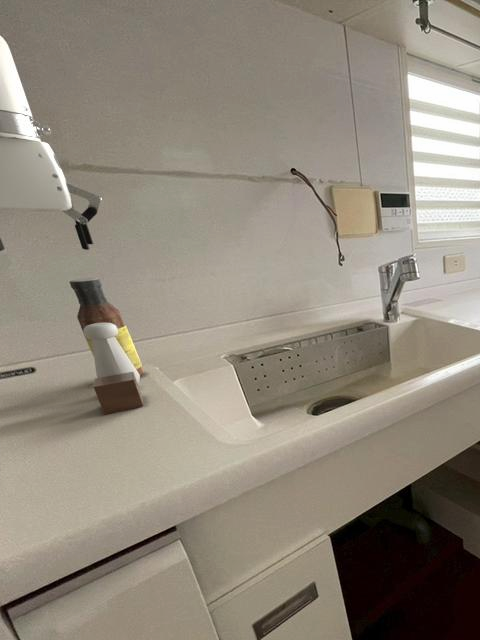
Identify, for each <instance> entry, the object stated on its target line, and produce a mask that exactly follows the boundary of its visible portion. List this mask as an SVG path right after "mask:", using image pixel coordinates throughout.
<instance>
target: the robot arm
mask: <svg viewBox="0 0 480 640" xmlns="http://www.w3.org/2000/svg"><path fill="white" fill-rule="evenodd" d="M46 135H47V136H52V135H53V134H52V131H51V128H50V125H49V124H43V123H41V122H38V121H37V120H35V119H34V118H33V113H32V111H31V108H30V105H29V102H28V99H27V96H26V93H25V89H24V87H23V84H22V82H21V78H20V75H19V73H18V69H17V66H16V63H15V61H14V58H13V55H12V52H11V50H10V46H9V45H8V43H7V41H6V40H5V39H4V37H2V36H1V35H0V211H21V212H22V211H23V212H24V211H26V212H27V211H28V212H63V213H64V214H66V215H67V216H68V217H70V218H71V219H72V220H74V222H75V224H74V228H75V231H76V234H77V237H78V240H79V244H80V246H81V249H82V250H85V251H88V250H90V246H89V245H94V241H93V238H92V234H91V232H90V229H89V226H88V224H89V222H90V221H91V220H92V219H93V218H94V217H95V216H97V214H98V212H99V209H100V206H101V204H102V201H103V199H102V197H101V196H99V195H97V194H95V193H92V192H90V191H88V190H86V189H82V188H80V187H78V186H75V185H72V184H70V183H67V179H66V177H65V174H64V172H63V169H62V167H61V165H60V163H59V160H58V158H57V156H56V154H55V152H54V151H53V148H52V147H51V146H50V144H49V143H48V142H45V141H42V139H41V138H42V137H43V136H46ZM72 195H75V196H78V197H81V198H83V199H85V200H87V201H88V206H87V208H86V209H84V211H83V212H82V213H81V212H80V211H78V210H77V209H75V203H74V198H73V196H72ZM5 249H6V248H5V245H4V243H3V241H2V239H1V237H0V252H2V251H4V250H5Z"/></svg>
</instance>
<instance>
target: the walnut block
mask: <svg viewBox="0 0 480 640" xmlns="http://www.w3.org/2000/svg"><path fill="white" fill-rule="evenodd" d="M93 390H94V392H95V395H96V397H97V400H98V402H99V405H100V408H101V410H102V412H103V414H104V415H110V414H113V413H118V412H124V411H128V410H132V409H136V408H140V407H144V399H143V395H142V392H141V389H140V386H139V383H137V381H136V378H135V375H134V372H128V373H123V374H117V375H112V376H106V377H100V378H97V377H95V378H94V382H93Z"/></svg>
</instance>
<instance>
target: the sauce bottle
mask: <svg viewBox="0 0 480 640" xmlns="http://www.w3.org/2000/svg"><path fill="white" fill-rule="evenodd" d="M69 285H70V288H71V289H72V290H73V291H74V293H75V296H76V298H77V300H78V304H79V308H78V312H77V314H76V315H77V316H76V317H77V321H78V323H79V325H80V328H81V330H82V333H83V335H84V338H85V340H86V343H87V345H88V347H89V349H90V352H91V354H92V356H93V357H94V353H93V346H92V339H88V338H87V337H86V336H85V334H84V330H83V329H84V328H85V327H86V326H88V325H91V324H95V323H112V324H114V325H116V327H117V329H118V334H117V335H116V336H114V337H115V338H116V340H117V341H118V343H119V344H120V346H121V348H122V349H123V351H124V352H125V354H126V355H127V357H128V358H129V360H130V361H131V363H132V364H133V366H134V367H135V369H136V370H137V372H138V373H139V375H140V377H141V376H142V375H144V369H143V364H142V361H141V359H140V356H139V355H138V352H137V349H136V347H135V345H134V342H133V339H132V336H131V333H130V331H129V329H128V327H127V324H125V322H124V319H123V316H122V315H121V312H120V311H119V309H117V308H116V307H115V306H114V305H113V304H111V302H110V301H108V298H106V296H105V293H104V290H103V288H102V285H103V283H102V282H101V280H100V278H98V277H83V278H77V279H71V280H69Z"/></svg>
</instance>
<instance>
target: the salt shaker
mask: <svg viewBox="0 0 480 640" xmlns="http://www.w3.org/2000/svg"><path fill="white" fill-rule="evenodd" d="M83 330H84V333H83V335H84V334H85V336H86V337H87V338H88V339H92V346H93V353H94V356H93V359H94V365H95V373H96V378H100V377H106V376H112V375H117V374H123V373H128V372H134V375H135V378H136V381H137V383H138V384H139V382H140V380H141V376H140V375H139V373H138V372H137V370H136V369H135V367H134V366H133V364H132V363H131V361H130V360H129V358H128V357H127V355H126V354H125V352H124V351H123V349H122V348H121V346H120V344H119V343H118V341H117V340H116V338H115V337H114V336H116V335H117V334H118V329H117V327H116V325H114V324H112V323H95V324H91V325H88V326H86V327H85V328H84V329H83ZM85 336H84V337H85Z"/></svg>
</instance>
